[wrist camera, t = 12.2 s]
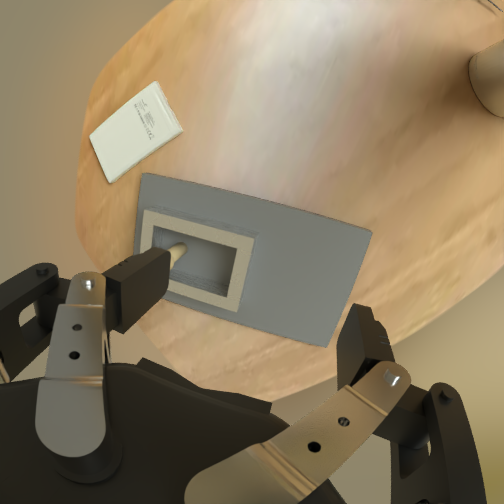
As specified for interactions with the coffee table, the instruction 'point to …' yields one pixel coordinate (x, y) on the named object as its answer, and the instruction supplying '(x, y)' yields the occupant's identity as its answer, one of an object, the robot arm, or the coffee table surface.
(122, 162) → the external hard drive
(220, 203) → the board
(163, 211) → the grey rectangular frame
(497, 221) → the coffee table surface
